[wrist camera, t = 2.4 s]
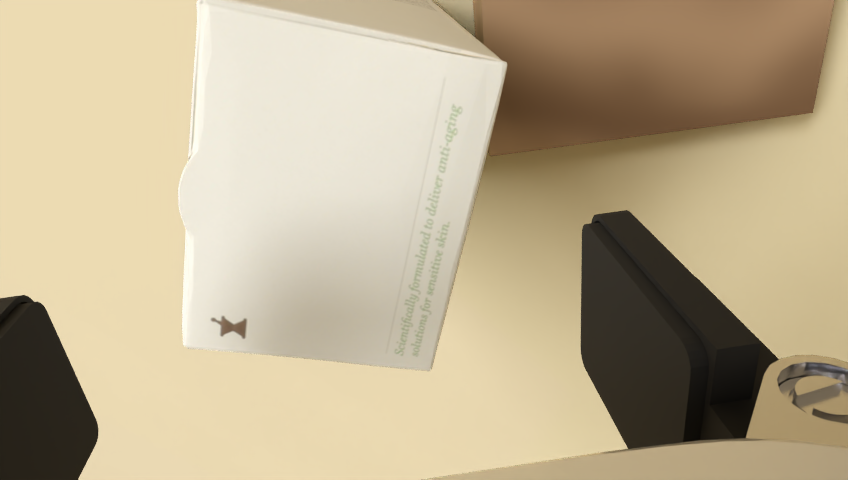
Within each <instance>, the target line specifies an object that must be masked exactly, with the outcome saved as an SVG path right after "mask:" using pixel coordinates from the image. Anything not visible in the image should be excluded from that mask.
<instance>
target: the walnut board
mask: <svg viewBox="0 0 848 480" xmlns="http://www.w3.org/2000/svg"><path fill="white" fill-rule="evenodd" d="M473 6H474V22H475V38H476V39H477V40H479V41H480V42H481V43H482V44H483V45H485V46H486V47H487V48H488V49H489V50H491V51H492V52H493V53H494V54H496V55H497V56H498V57H499V58H500V59H501V60H502V61H505V62H507V70H506V75H505V79H504V83H503V88H502V93H501V97H500V102H499V106H498V110H497V114H496V118H495V122H494V126H493V130H492V135H491V139H490V143H489V147H488V153H489V155H490V156H495V155H503V154H510V153H518V152H525V151H532V150H540V149H547V148H555V147H562V146H569V145H577V144H584V143H591V142H599V141H606V140H614V139H621V138H628V137H636V136H643V135H651V134H658V133H665V132H673V131H680V130H688V129H695V128H702V127H710V126H717V125H725V124H732V123H739V122H747V121H754V120H762V119H769V118H776V117H784V116H791V115H799V114H806V113H813V109H814V104H815V98H816V93H817V88H818V83H819V78H820V73H821V67H822V62H823V57H824V52H825V47H826V42H827V37H828V31H829V26H830V21H831V16H832V11H833V6H834V0H473Z"/></svg>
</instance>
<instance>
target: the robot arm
mask: <svg viewBox="0 0 848 480" xmlns="http://www.w3.org/2000/svg"><path fill="white" fill-rule="evenodd" d="M581 355H582V360H583V364H584V367H585V369H586V371H587V373H588V375H589V376H590V378H591V380H592V382H593V384H594V386H595V388H596V390H597V391H598V393H599V395H600V397H601V399H602V401H603V403H604V404H605V406H606V408H607V410H608V412H609V414H610V416H611V418H612V419H613V421H614V423H615V425H616V427H617V429H618V431H619V432H620V434H621V436H622V438H623V440H624V442H625V444H626V445H627V447H628V449H624V450H616V451H608V452H601V453H594V454H588V455H581V456H575V457H568V458H561V459H555V460H548V461H542V462H535V463H528V464H522V465H515V466H509V467H502V468H495V469H489V470H482V471H476V472H469V473H462V474H456V475H449V476H443V477H436V478H429V479H423V480H848V362H845V361H841V360H838V359H835V358H830V357H823V356H817V355H795V356H790V357H786V358H781V359H778V358H777V357H776V356H775V355H774V354H773V353H772V352H771V351H770V350H769V349H768V348H767V347H766V346H765V345H764V344H763V343H762V342H761V341H760V340H759V339H758V338H757V337H756V336H755V335H754V334H753V333H752V332H751V331H750V330H749V329H748V328H747V327H746V326H745V325H744V324H743V323H742V322H741V321H740V320H739V319H738V318H737V317H736V316H735V315H734V314H733V313H732V312H731V311H730V310H729V309H728V308H727V307H726V306H725V305H724V304H723V303H722V302H721V301H720V300H719V299H718V298H717V297H716V296H715V295H714V294H713V293H712V292H711V291H710V290H709V289H708V288H707V287H706V286H705V285H704V284H703V283H702V282H701V281H700V280H699V279H697V278H696V277H695V276H694V275H693V274H692V273H691V272H690V271H689V270H688V269H687V268H686V267H685V266H684V265H683V264H682V263H681V262H680V261H679V260H678V259H677V258H676V257H675V256H674V255H673V254H672V253H671V252H670V251H669V250H668V249H667V248H666V247H665V246H664V245H663V244H662V243H661V242H660V241H659V240H658V239H657V238H656V237H655V236H654V235H653V234H652V233H651V232H650V231H649V230H648V229H646V228H645V227H644V226H643V225H642V224H641V223H640V222H639V221H638V220H637V219H636V218H635V217H634V216H633V215H632V214H631V213H630V212H629V211H627V210H626V211H619V212H611V213H604V214H597V215H594V217H593V219H592V223H591V224H585V225H584V226H583V229H582V284H581ZM97 439H98V424H97V421H96V419H95V416H94V414H93V412H92V410H91V408H90V405H89V403H88V401H87V399H86V397H85V394H84V392H83V390H82V388H81V386H80V383H79V381H78V379H77V377H76V375H75V372H74V370H73V368H72V366H71V364H70V361H69V359H68V357H67V355H66V353H65V350H64V348H63V346H62V344H61V342H60V339H59V337H58V335H57V333H56V330H55V328H54V326H53V324H52V322H51V319H50V317H49V315H48V313H47V311H46V309H45V307H44V306H43V305H42V304H41V303H39V302H34V301H33V300H32V299H31V298H29V297H28V296H25V295H22V296H14V297H7V298H0V480H78V478H79V476H80V474H81V472H82V470H83V468H84V466H85V464H86V462H87V460H88V458H89V457H90V455H91V453H92V451H93V449H94V447H95V445H96V442H97Z"/></svg>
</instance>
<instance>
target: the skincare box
mask: <svg viewBox="0 0 848 480" xmlns="http://www.w3.org/2000/svg"><path fill="white" fill-rule="evenodd" d="M506 70H507V62H505V61H502V60H501V59H500V58H499V57H498V56H497V55H496V54H494V53H493V52H492V51H491V50H489V49H488V48H487V47H486V46H485V45H483V44H482V43H481V42H480V41H479V40H477V39H476V38H475V37H474V36H473V35H472V34H470V33H469V32H468V31H467V30H466V29H464V28H463V27H462V26H461V25H460V24H459V23H458V22H456V21H455V20H454V19H453V18H452V17H451V16H449V15H448V14H447V13H446V12H445V11H444V10H442V9H441V8H440V7H439V6H438V5H436V4H435V3H434V2H433V1H432V0H197V32H196V47H195V62H194V76H193V91H192V107H191V124H190V140H189V155H188V162H187V164H186V166H185V168H184V170H183V172H182V175H181V179H180V182H179V189H178V204H179V211H180V215H181V217H182V220H183V223H184V226H185V228H186V238H185V262H184V285H183V312H182V332H183V345H184V346H185V347H187V348H188V349H200V350H213V351H225V352H237V353H249V354H260V355H271V356H282V357H293V358H304V359H314V360H324V361H333V362H342V363H351V364H360V365H369V366H379V367H390V368H400V369H411V370H422V371H430V370H431V369H432V366H433V363H434V358H435V354H436V350H437V346H438V342H439V338H440V335H441V331H442V327H443V324H444V320H445V316H446V312H447V308H448V304H449V300H450V296H451V293H452V289H453V285H454V281H455V277H456V273H457V269H458V265H459V261H460V258H461V254H462V250H463V246H464V242H465V238H466V235H467V231H468V227H469V223H470V219H471V215H472V211H473V208H474V204H475V200H476V196H477V192H478V188H479V184H480V180H481V176H482V172H483V168H484V163H485V159H486V155H487V151H488V147H489V143H490V139H491V135H492V130H493V126H494V122H495V118H496V114H497V110H498V106H499V102H500V97H501V93H502V88H503V83H504V79H505V75H506Z"/></svg>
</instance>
